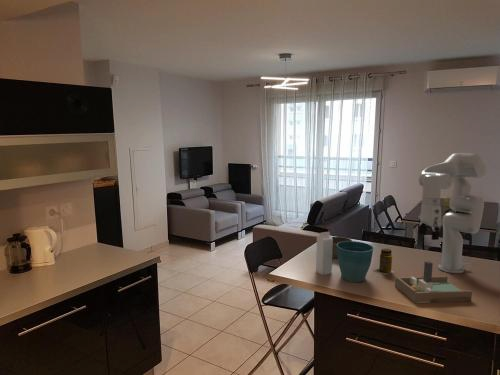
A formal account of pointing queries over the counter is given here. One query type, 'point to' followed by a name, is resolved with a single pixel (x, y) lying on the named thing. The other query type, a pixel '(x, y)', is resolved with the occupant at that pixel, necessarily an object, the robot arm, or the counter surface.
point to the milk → (324, 253)
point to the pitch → (432, 290)
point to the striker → (427, 277)
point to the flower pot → (354, 259)
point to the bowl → (336, 241)
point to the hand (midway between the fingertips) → (428, 236)
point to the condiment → (385, 262)
